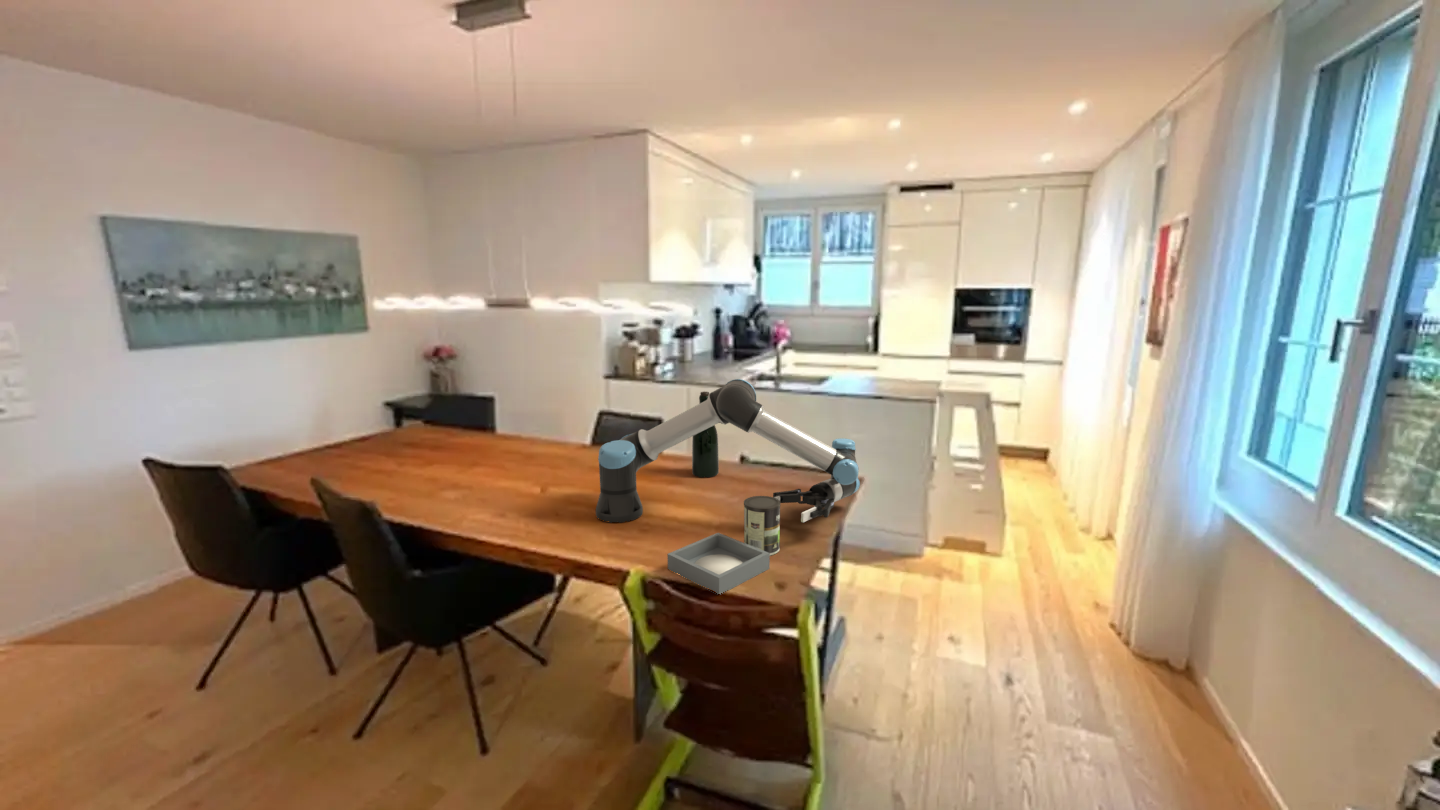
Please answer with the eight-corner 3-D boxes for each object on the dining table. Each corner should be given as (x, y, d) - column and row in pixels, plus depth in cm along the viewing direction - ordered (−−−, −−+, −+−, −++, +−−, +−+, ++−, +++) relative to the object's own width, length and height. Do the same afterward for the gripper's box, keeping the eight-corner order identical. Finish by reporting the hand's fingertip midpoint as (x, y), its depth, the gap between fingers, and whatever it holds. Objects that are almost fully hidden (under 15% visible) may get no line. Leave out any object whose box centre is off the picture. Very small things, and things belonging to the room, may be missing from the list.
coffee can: (778, 541, 177) (779, 495, 174) (781, 556, 167) (782, 508, 164) (743, 540, 177) (743, 495, 174) (743, 556, 167) (744, 508, 164)
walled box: (719, 595, 146) (719, 578, 146) (667, 569, 159) (667, 553, 159) (769, 568, 160) (769, 552, 159) (718, 547, 173) (718, 532, 172)
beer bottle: (694, 469, 244) (693, 389, 237) (719, 470, 243) (719, 389, 236) (690, 478, 234) (689, 394, 227) (717, 478, 233) (717, 394, 226)
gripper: (858, 514, 184) (818, 535, 169) (793, 495, 201) (751, 512, 186) (859, 491, 183) (819, 510, 168) (793, 473, 200) (751, 489, 185)
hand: (783, 511), depth 177 cm, fingers open, 13 cm apart
